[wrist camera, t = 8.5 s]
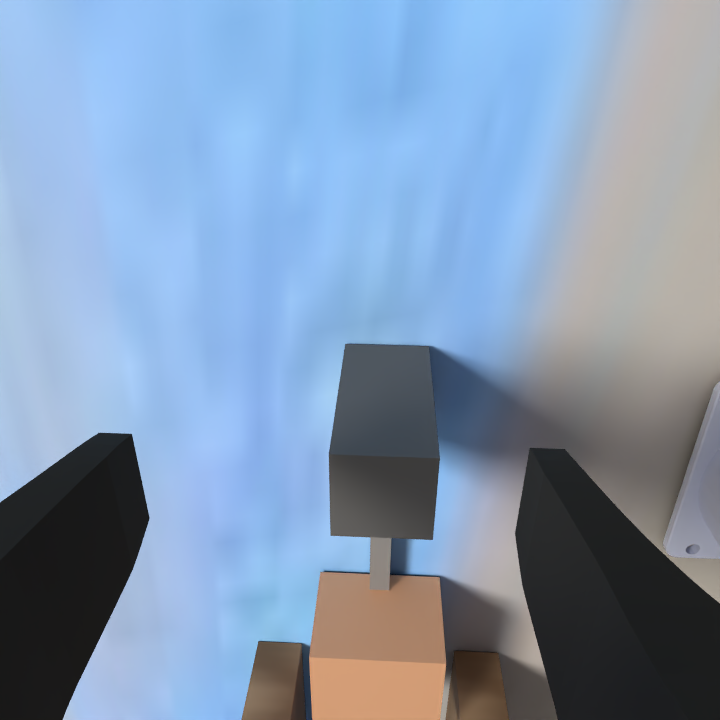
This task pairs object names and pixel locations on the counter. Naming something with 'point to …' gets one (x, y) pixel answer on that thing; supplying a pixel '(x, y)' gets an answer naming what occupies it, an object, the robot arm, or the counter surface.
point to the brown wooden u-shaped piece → (287, 698)
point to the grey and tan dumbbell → (381, 545)
